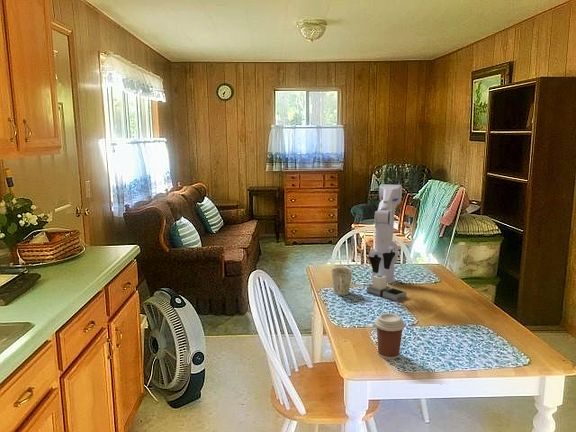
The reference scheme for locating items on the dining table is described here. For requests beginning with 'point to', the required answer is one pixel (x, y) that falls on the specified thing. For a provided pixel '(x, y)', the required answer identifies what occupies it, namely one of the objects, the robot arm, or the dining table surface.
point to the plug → (379, 282)
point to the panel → (387, 293)
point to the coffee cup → (389, 335)
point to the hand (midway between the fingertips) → (381, 270)
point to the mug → (341, 280)
